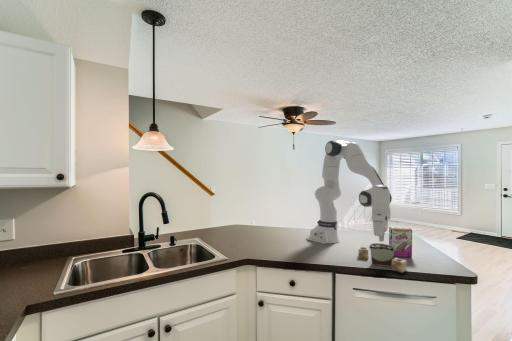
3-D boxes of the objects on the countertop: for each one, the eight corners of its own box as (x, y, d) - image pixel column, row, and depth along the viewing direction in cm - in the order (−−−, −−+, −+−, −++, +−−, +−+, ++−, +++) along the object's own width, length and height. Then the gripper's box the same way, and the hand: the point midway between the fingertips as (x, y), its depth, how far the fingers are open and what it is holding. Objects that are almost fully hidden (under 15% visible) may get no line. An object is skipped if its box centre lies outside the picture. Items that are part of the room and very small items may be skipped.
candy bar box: (391, 256, 144) (391, 228, 144) (388, 253, 149) (388, 226, 149) (412, 258, 142) (412, 229, 142) (409, 255, 146) (409, 227, 146)
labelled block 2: (391, 269, 126) (391, 259, 126) (395, 267, 129) (395, 257, 129) (402, 272, 122) (402, 262, 122) (406, 270, 125) (406, 259, 125)
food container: (392, 262, 135) (392, 244, 135) (394, 266, 129) (394, 247, 129) (367, 260, 139) (367, 242, 139) (368, 264, 133) (368, 245, 133)
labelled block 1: (358, 257, 143) (358, 248, 143) (359, 255, 147) (359, 246, 147) (368, 259, 141) (368, 249, 141) (368, 256, 145) (368, 247, 145)
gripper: (378, 212, 144) (378, 235, 144) (370, 217, 128) (371, 244, 128) (390, 212, 140) (391, 237, 140) (384, 218, 124) (384, 246, 124)
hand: (381, 240), depth 134 cm, fingers closed
